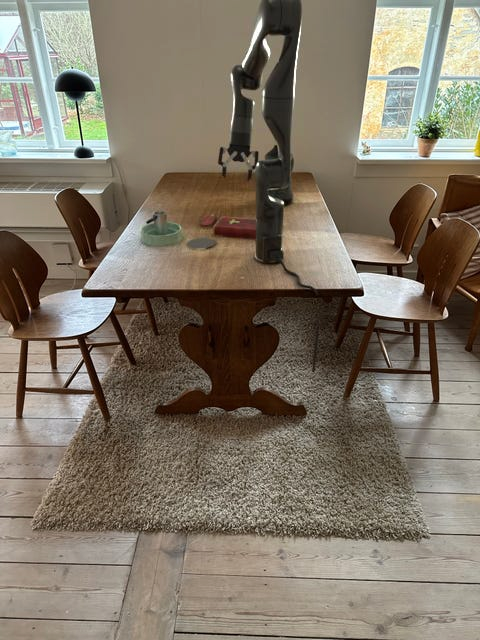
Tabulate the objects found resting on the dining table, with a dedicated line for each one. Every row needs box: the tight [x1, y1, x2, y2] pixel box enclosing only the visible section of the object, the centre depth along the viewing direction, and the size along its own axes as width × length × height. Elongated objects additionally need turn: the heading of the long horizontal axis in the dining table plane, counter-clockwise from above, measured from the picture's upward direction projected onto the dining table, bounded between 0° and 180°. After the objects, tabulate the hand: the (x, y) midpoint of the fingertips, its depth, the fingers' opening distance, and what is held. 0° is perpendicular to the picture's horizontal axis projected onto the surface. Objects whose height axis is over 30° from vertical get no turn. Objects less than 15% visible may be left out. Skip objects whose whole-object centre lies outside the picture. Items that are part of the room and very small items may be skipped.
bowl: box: [140, 221, 183, 247], centre depth 173 cm, size 15×15×4 cm
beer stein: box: [264, 144, 295, 207], centre depth 210 cm, size 16×19×25 cm
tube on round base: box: [145, 210, 168, 236], centre depth 169 cm, size 11×5×10 cm, turn 156°
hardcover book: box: [212, 215, 256, 240], centre depth 179 cm, size 12×21×4 cm, turn 76°
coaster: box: [187, 237, 216, 250], centre depth 170 cm, size 10×10×1 cm
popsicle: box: [200, 213, 217, 228], centre depth 191 cm, size 4×2×15 cm
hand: (236, 179), depth 164 cm, fingers open, 8 cm apart
